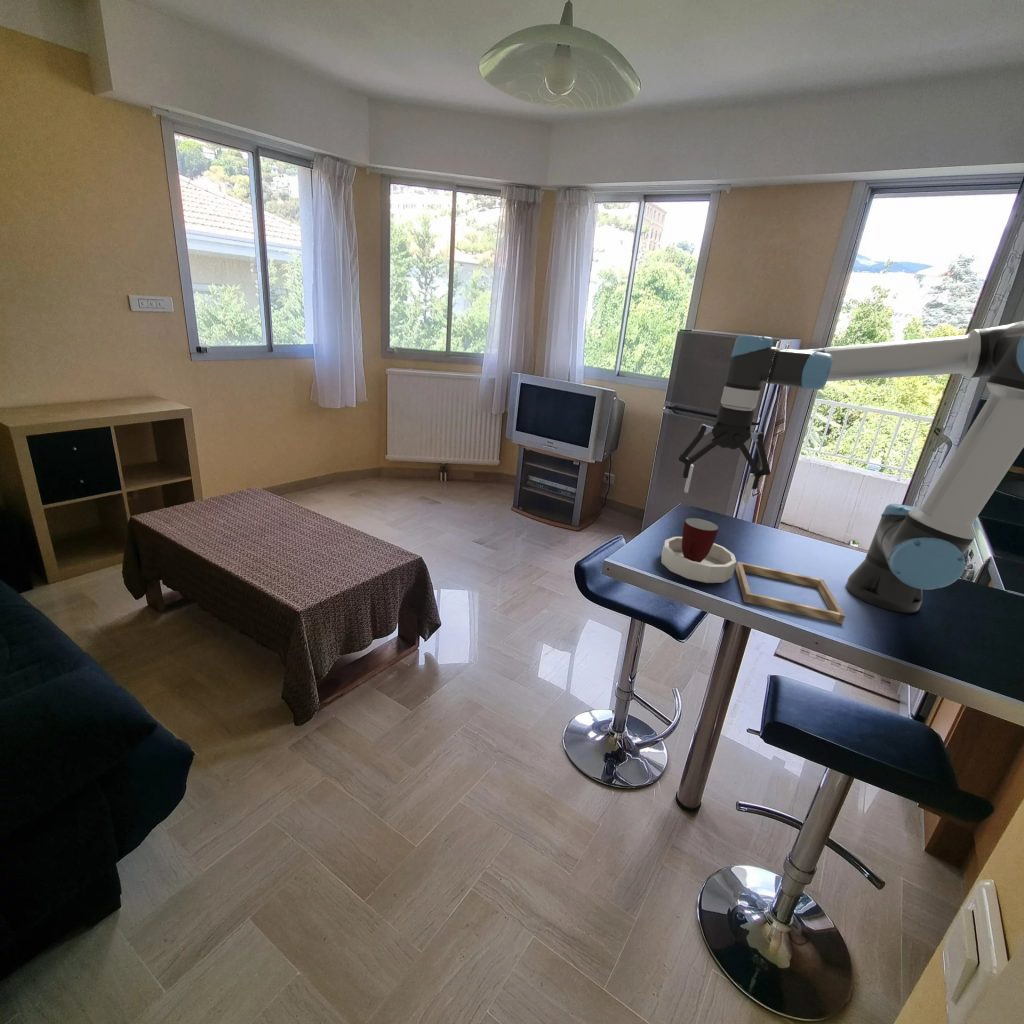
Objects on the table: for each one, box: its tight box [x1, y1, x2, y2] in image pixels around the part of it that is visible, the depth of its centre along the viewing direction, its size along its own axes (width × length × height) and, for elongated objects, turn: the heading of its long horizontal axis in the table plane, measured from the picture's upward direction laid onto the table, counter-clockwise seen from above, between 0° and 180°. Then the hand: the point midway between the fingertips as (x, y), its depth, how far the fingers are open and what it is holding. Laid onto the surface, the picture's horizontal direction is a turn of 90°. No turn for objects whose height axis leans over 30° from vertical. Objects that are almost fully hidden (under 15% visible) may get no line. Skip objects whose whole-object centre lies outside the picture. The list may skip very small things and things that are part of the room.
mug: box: [681, 517, 719, 562], centre depth 129 cm, size 11×8×10 cm
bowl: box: [660, 536, 737, 584], centre depth 130 cm, size 17×17×4 cm
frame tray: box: [734, 561, 846, 625], centre depth 121 cm, size 20×18×2 cm
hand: (715, 496), depth 124 cm, fingers open, 13 cm apart
